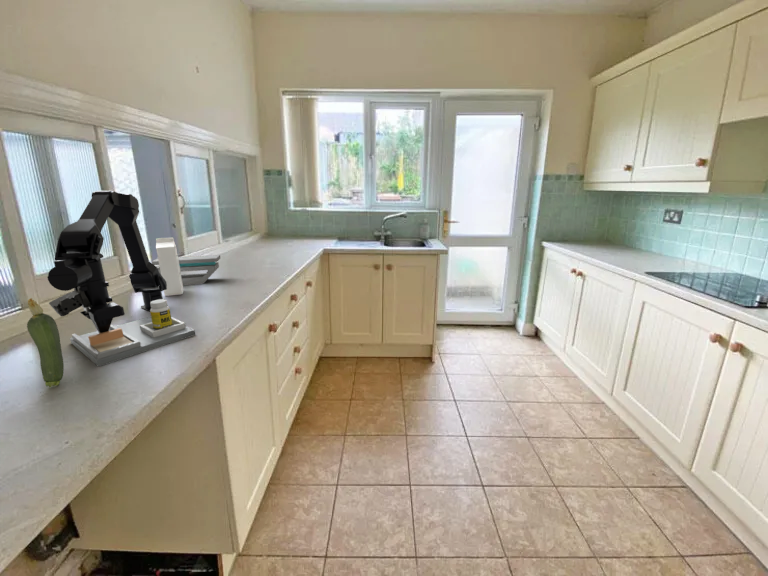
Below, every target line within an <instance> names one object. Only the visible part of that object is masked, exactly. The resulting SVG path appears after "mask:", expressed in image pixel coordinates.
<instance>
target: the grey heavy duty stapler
mask: <svg viewBox="0 0 768 576" xmlns="http://www.w3.org/2000/svg"><path fill="white" fill-rule="evenodd" d="M178 260H179V266H180V272H181V273H182V272H194V271H195V272H198V271H206V273H201V272H200V273H189V274H181V278H182V284H183V286H187V285H202V284H204V283H206V282H207V281H208V280H209V278H210V277H211V276H212V275H213V274H215V272H216V271H217V270H218V269H219V267H220V264H219V260H221V254H214V255H212V254H211V255H210V254H209V255H189V256H178ZM151 263H152V264H153V265H154V266H159V261H158V257H156V259H154V260H151ZM157 269H158V271H159V273H160V274H161V272H160V267H157Z"/></svg>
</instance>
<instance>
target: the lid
mask: <svg viewBox="0 0 768 576" xmlns="http://www.w3.org/2000/svg"><path fill="white" fill-rule="evenodd" d="M88 338H89V342H90V345H91V346H92V347H93V348H94V349H96V350H97V351H98V352H103V351H106V350H109V349H112V348H116V347H119V346H122V345H126V344H129V343H132V341H130V340H128V339H127V338H125V337H124V336H123V331H122V329H121V328H118V329H114V330H110V331H107V332H103V333H99V334H96V335H92V336H88Z"/></svg>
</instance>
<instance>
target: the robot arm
mask: <svg viewBox="0 0 768 576" xmlns="http://www.w3.org/2000/svg"><path fill="white" fill-rule="evenodd" d="M139 207H140V203H139V200H138V198H136V196H135V195H134V196H133V194H131V193H120V192H117V191H113V190H95V191H92V193H91V199H90V200H89V202H88V204H87V206H86V207H85V209H84V210H83V212H82V213H81V215H80V217H79V218H78V219H77V221H75V222H73V223H70V224H68V225H66V227H64V229H62V230H61V232H60V233H59V236H58V239H57V244H56V249H55V254H54V262H53V263H54V266H53V267H52V268H51V269H50V270H49V272H48V273H47V282H48V283H49V285H51V286H52V287H53V288H54V289H56V290H59V291H62V292H63V291H64V292H67V291H70V290H72V291H70V292H68V293H65V294H63V295H61V296H58V297H57V298H55V299H53V300H51V301H50V302H49V303H48V304H49V305H50V307H51V308H52V309H53V310H54V311H55V312H56V314H57V315H58V316H60V317H65V316H68V315H70V313H72V312H74V311H75V310H77V309H79V308H82V309H83V311H80V314H81V315H83V316H84V317H85V318H87V319H89V320H91V322H92V324H93V325H94V327H95V328H96V331H98V332H99V333H103V332H107V331H109V328H110V325H111V324H112V322H113V319H114V318H118V317H122V316H125V314H126V313H125V309H124V306H121V305H119V304H118V303H116V302H114V301H113V297H111V296H110V295H109V290H108V287H110V283H109V281H106V277H105V273H104V267H103V264H102V260H101V259H103V258H104V255H103V253H101V250H102V247H103V245H104V239H105V238H104V236H103V234H102V231H103V228H104V226H105V224H106V222H107V220H108V218H109V219H110V220H111V221H113V222H114V223H115V224H116V225H118V228H119V231H120V233H121V236H122V239H123V243H124V245H125V248H126V251H127V254H128V257H129V259H130V262H131V265H132V269H131V271H130V273H129V276H128V277H129V279H130V280H129V281H130V283H131V286H132V289H133V291H134V294H135V293H137V294H138V293H141V296H142V300H143V305H141V306H140V308H141V309H143V310H145V311H148V312H149V311H150V309H151V305H150V302H151V301H154V300H159V299H164V297H163V294H162V293H163V292H164V290H166V289H167V283H166V281H165V279H164V278H163V277H162V275H161V274H160V273H159V271H158V269H157V268H158V267H157V265H153V264H152V261H150V259H149V257H148V253H147V250H146V246H145V243H144V241H143V238H142V235H141V231H140V229H139V225H138V223H137V218H138V216H139V214H140V209H139ZM167 306H169V305H168V304H167Z"/></svg>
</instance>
